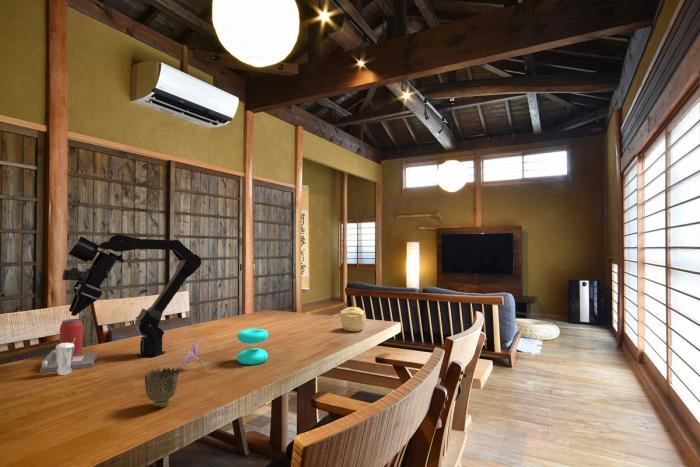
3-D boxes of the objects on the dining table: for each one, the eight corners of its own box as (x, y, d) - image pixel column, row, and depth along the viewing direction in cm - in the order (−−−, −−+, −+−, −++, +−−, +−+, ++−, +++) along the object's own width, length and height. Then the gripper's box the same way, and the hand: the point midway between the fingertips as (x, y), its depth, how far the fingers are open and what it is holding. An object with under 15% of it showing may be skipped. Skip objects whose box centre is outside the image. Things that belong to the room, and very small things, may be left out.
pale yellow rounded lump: (338, 332, 175) (338, 308, 176) (343, 327, 187) (343, 304, 187) (363, 333, 173) (363, 308, 174) (367, 328, 185) (367, 305, 185)
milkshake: (79, 371, 119) (80, 338, 120) (61, 376, 114) (62, 342, 114) (69, 369, 121) (70, 337, 121) (51, 375, 116) (52, 340, 116)
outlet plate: (97, 355, 137) (97, 346, 137) (91, 367, 124) (91, 356, 124) (51, 360, 131) (51, 350, 131) (40, 372, 118) (40, 362, 118)
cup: (151, 400, 97) (152, 367, 97) (182, 399, 98) (183, 366, 98) (137, 412, 90) (138, 377, 90) (171, 411, 90) (172, 376, 90)
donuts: (231, 331, 131) (257, 326, 138) (231, 361, 130) (256, 355, 138) (248, 335, 124) (274, 330, 131) (247, 367, 123) (273, 361, 131)
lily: (199, 364, 130) (184, 340, 129) (225, 354, 126) (209, 329, 125) (174, 387, 119) (157, 361, 118) (201, 377, 115) (184, 350, 114)
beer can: (70, 357, 134) (71, 322, 134) (54, 356, 135) (55, 321, 136) (86, 352, 140) (87, 318, 141) (71, 351, 142) (72, 318, 142)
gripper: (71, 256, 132) (42, 299, 127) (77, 258, 117) (44, 307, 112) (105, 271, 138) (78, 313, 133) (114, 274, 123) (84, 321, 118)
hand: (71, 313), depth 124 cm, fingers open, 9 cm apart
